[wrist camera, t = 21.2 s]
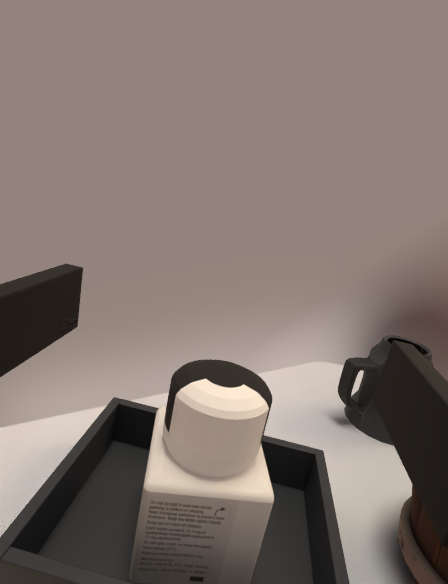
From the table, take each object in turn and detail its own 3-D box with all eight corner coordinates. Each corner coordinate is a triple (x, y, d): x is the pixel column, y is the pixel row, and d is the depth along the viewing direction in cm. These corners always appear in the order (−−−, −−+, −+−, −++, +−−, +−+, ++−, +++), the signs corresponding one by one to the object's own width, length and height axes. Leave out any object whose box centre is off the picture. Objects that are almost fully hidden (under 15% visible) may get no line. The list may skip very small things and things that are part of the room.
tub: (-17, 620, 20) (-16, 555, 19) (108, 439, 35) (113, 396, 34) (338, 733, 18) (366, 670, 17) (309, 493, 33) (323, 450, 32)
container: (144, 485, 30) (168, 341, 26) (236, 494, 30) (271, 356, 27) (126, 586, 22) (157, 403, 19) (249, 593, 23) (299, 421, 20)
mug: (384, 401, 53) (410, 332, 50) (433, 445, 45) (467, 364, 42) (313, 400, 50) (336, 325, 47) (351, 447, 41) (382, 359, 38)
